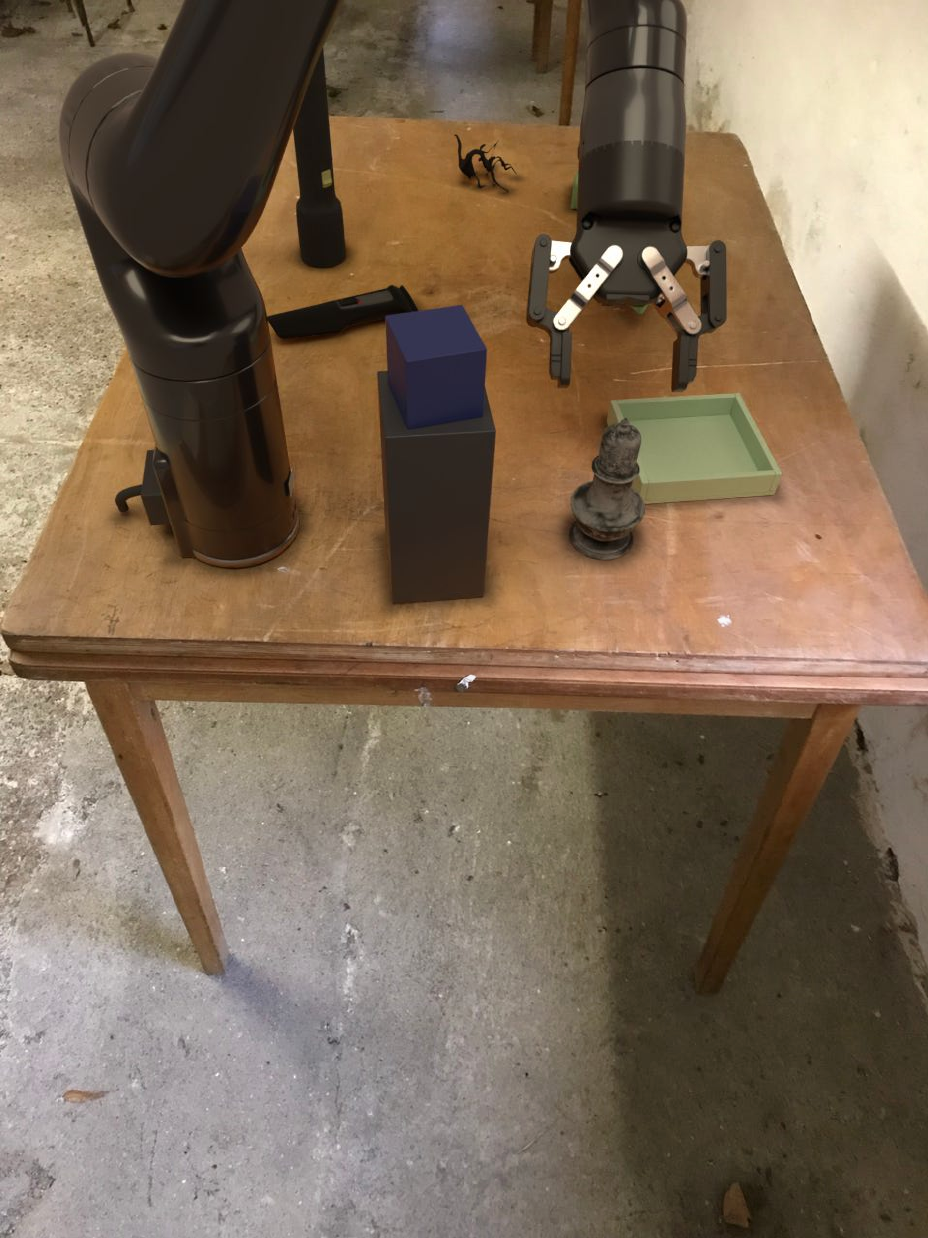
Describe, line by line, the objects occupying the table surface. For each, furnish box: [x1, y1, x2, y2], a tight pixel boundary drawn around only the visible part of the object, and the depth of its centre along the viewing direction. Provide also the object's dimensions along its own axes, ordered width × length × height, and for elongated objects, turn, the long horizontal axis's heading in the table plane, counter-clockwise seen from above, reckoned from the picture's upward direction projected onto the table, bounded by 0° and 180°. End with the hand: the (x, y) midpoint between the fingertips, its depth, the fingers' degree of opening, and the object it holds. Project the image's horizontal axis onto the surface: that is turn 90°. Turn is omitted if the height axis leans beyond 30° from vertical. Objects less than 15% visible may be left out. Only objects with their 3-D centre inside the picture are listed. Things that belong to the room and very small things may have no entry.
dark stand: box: [376, 370, 497, 605], centre depth 64 cm, size 7×7×16 cm
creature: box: [453, 134, 517, 192], centre depth 111 cm, size 8×5×8 cm
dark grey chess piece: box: [568, 418, 646, 561], centre depth 69 cm, size 6×6×12 cm
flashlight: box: [292, 47, 347, 269], centre depth 91 cm, size 5×24×5 cm
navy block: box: [384, 304, 488, 430], centre depth 56 cm, size 5×5×5 cm
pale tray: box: [606, 392, 783, 505], centre depth 79 cm, size 12×11×2 cm
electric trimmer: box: [267, 284, 419, 340], centre depth 90 cm, size 4×16×3 cm, turn 115°
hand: (621, 388), depth 66 cm, fingers open, 8 cm apart
